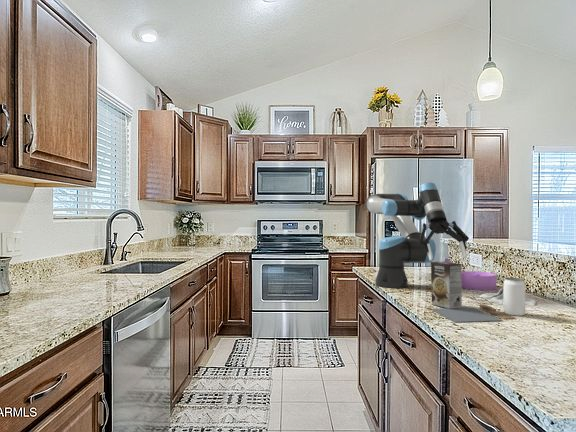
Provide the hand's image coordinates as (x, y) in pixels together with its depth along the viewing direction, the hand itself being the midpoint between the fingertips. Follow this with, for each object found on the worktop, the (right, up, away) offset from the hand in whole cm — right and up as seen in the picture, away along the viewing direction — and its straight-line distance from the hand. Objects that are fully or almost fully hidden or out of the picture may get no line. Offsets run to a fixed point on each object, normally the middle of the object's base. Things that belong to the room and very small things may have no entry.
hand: (448, 258), depth 155 cm
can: (+13, -17, -24) cm, 32 cm away
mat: (-5, -17, -25) cm, 31 cm away
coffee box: (-6, -16, -14) cm, 22 cm away
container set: (+19, -16, +24) cm, 35 cm away
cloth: (+23, -17, -2) cm, 28 cm away
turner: (+7, -17, -23) cm, 29 cm away
